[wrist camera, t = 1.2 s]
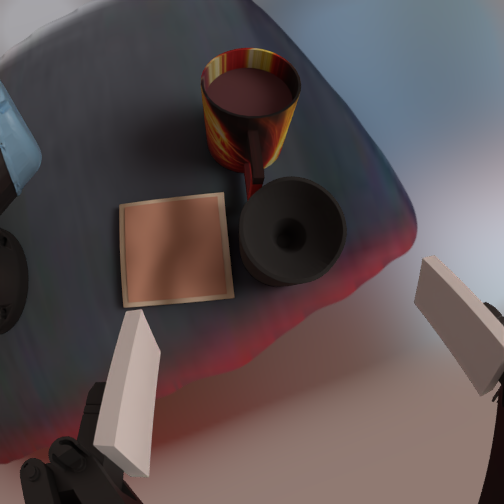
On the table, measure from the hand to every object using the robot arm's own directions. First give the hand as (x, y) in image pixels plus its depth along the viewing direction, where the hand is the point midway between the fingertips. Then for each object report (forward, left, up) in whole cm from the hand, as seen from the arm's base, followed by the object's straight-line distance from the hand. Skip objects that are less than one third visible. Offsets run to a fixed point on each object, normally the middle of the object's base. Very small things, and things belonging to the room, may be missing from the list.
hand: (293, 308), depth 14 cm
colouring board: (-8, +7, -22) cm, 24 cm away
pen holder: (+3, +6, -22) cm, 23 cm away
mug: (+2, +19, -22) cm, 29 cm away
